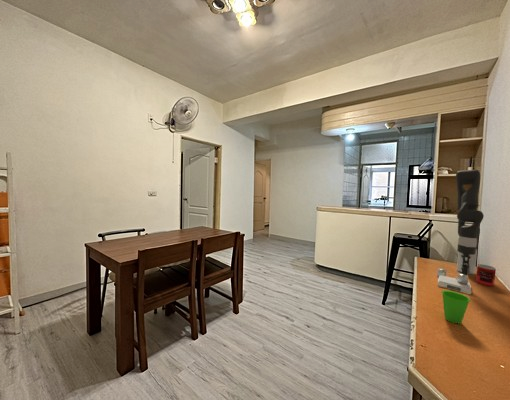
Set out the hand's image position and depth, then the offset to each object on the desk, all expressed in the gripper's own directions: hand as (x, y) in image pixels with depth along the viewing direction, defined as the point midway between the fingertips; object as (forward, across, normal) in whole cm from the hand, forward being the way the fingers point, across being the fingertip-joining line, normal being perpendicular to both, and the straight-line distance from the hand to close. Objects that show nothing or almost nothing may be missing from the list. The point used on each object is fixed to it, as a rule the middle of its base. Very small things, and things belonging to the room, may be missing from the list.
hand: (464, 272), depth 125 cm
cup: (+9, +49, -4) cm, 50 cm away
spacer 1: (+10, -13, -10) cm, 19 cm away
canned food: (+10, -21, +10) cm, 25 cm away
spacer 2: (+6, 0, 0) cm, 6 cm away
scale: (+9, 0, -4) cm, 10 cm away
